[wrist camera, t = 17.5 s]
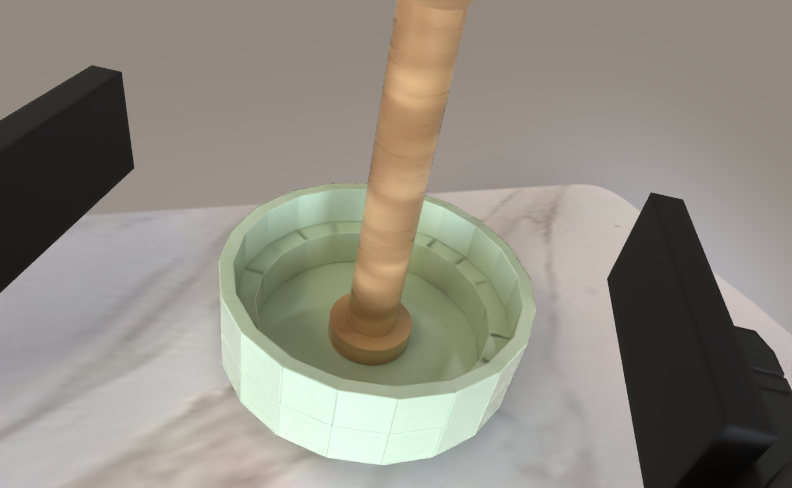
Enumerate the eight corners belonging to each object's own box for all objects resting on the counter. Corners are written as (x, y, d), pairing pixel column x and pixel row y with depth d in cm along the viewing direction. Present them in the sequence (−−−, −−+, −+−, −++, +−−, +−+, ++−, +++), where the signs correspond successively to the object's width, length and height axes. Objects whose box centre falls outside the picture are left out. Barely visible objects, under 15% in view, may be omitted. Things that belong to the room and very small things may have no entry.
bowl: (551, 349, 35) (585, 280, 31) (384, 546, 24) (408, 473, 21) (356, 225, 41) (367, 156, 38) (158, 337, 31) (148, 256, 27)
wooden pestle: (424, 335, 33) (536, -66, 20) (372, 380, 30) (467, -59, 17) (364, 294, 34) (434, -98, 22) (310, 331, 31) (356, -96, 19)
